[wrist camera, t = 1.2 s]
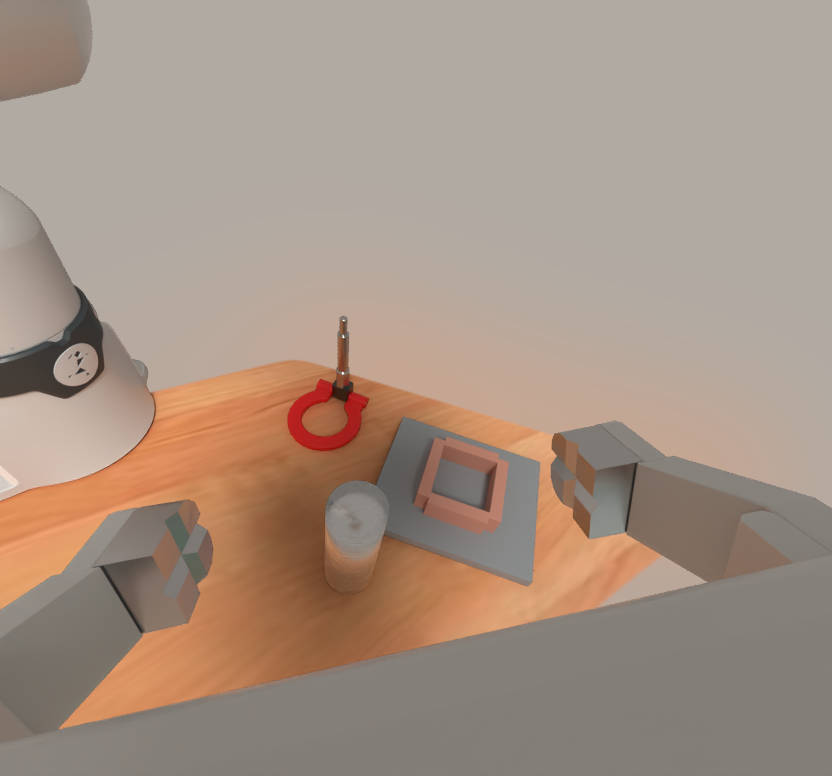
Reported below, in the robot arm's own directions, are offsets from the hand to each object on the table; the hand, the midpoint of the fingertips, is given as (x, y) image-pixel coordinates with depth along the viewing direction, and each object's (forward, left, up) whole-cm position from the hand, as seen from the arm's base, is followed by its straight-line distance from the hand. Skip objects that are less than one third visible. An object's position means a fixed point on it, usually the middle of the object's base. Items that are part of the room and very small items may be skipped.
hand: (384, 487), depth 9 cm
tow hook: (-12, +23, -30) cm, 40 cm away
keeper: (+5, +19, -30) cm, 36 cm away
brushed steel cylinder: (-3, +8, -30) cm, 31 cm away
